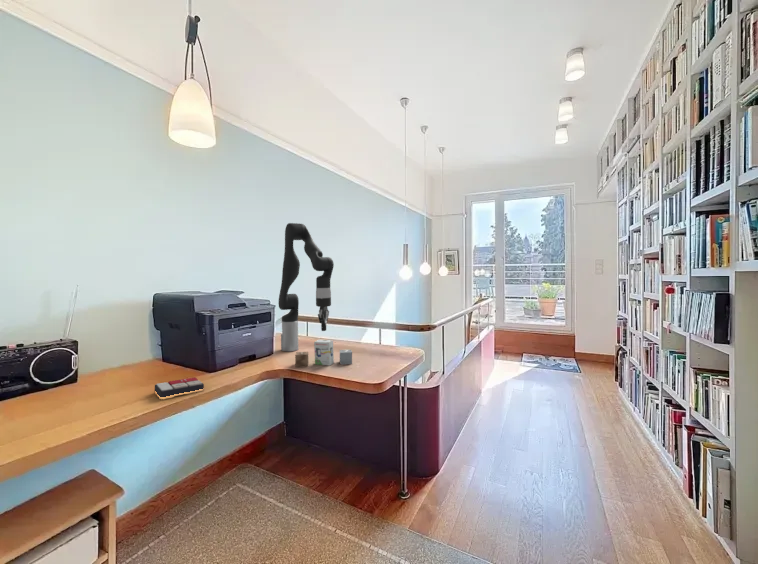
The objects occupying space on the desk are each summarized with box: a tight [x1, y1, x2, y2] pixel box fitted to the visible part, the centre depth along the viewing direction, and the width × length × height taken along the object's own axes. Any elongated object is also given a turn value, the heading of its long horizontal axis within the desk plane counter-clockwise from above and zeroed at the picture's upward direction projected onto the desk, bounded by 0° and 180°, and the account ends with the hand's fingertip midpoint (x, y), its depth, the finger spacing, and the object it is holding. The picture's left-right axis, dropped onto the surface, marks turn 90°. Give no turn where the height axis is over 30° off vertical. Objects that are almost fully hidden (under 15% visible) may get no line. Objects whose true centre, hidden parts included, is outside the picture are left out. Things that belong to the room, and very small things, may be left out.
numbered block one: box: [294, 351, 310, 368], centre depth 174 cm, size 6×6×6 cm
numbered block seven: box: [339, 349, 353, 365], centre depth 178 cm, size 6×6×6 cm
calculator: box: [154, 377, 205, 397], centre depth 138 cm, size 11×4×15 cm
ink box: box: [313, 339, 335, 366], centre depth 176 cm, size 9×5×12 cm, turn 73°
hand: (323, 330), depth 177 cm, fingers closed
